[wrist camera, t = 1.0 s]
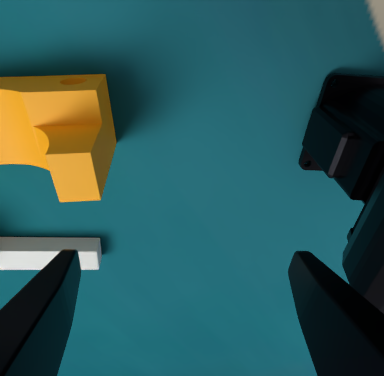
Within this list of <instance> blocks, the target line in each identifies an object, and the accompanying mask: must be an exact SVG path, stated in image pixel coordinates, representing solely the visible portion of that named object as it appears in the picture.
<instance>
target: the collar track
mask: <svg viewBox="0 0 384 376" xmlns="http://www.w3.org/2000/svg"><path fill="white" fill-rule="evenodd" d="M63 249H76V250H77V251H78V254H79V260H80V266H81V270H99V266H100V262H101V257H102V252H101V243H100V238H64V237H0V270H42V269H43V268H44V267H45V266H46V265H47V264H48V263H49V262H50V261H51V260H52V259H53V258H54V257H55V256H56V255H57V254H58V253H59V252H60V251H61V250H63Z"/></svg>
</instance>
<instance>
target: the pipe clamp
mask: <svg viewBox="0 0 384 376" xmlns="http://www.w3.org/2000/svg"><path fill="white" fill-rule="evenodd" d="M116 143H117V142H116V136H115V130H114V124H113V117H112V111H111V105H110V99H109V93H108V86H107V80H106V74H90V75H55V76H21V77H0V165H1V164H27V165H34V166H38V167H42V168H45V169H47V170H49V171H50V172H51V175H52V179H53V182H54V185H55V188H56V191H57V195H58V198H59V201H60V202H73V201H92V200H101V197H102V194H103V190H104V186H105V183H106V179H107V176H108V172H109V168H110V165H111V161H112V158H113V154H114V150H115V147H116Z"/></svg>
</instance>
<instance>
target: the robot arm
mask: <svg viewBox="0 0 384 376" xmlns="http://www.w3.org/2000/svg"><path fill="white" fill-rule="evenodd" d="M334 79H336V83H335V84H334V85H333V86H331V82H332V81H333V80H334ZM302 145H303V149H302V152H301V155H300V159H299V165H300V167H301V168H302V169H304V170H320V171H324V172H325V174H326V175H327V176H328V177H329V178H334V179H335V181H336V182H337V183H338V184H339V185H340V187H341V188H342V189H343V190H344V191H345V193H346V194H347V195H348V196H349V197H350V199H352V200H361V201H362V202H363V203H364V204H365V205H364V207H363V209H362V211H361V213H360V215H359V217H358V219H357V221H356V223H355V225H354V227H353V228H351V229H350V231H349V233H348V235H347V239H348V244H347V246H346V248H345V250H344V252H343V262H342V265H343V268H344V271H345V273H346V276H347V279H348V281H349V284H348V283H347V282H345V281H344V280H343V279H342V278H341V277H339V276H338V275H337V274H336V273H335V272H333V271H332V270H331V269H330V268H329V267H327V266H326V265H325V264H324V263H323V262H321V261H320V260H319V259H318V258H317V257H315V256H314V255H313V254H312V253H311V252H309V251H296V252H295V253H294V255H293V258H292V261H291V263H290V266H289V269H288V275H289V280H290V284H291V289H292V293H293V298H294V302H295V307H296V311H297V315H298V319H299V323H300V326H301V329H302V332H303V335H304V338H305V341H306V344H307V346H308V349H309V352H310V355H311V358H312V361H313V364H314V367H315V370H316V373H317V376H384V77H382V76H368V75H355V74H341V73H332V74H330V75H328V76H327V77H326V79H325V81H324V83H323V86H322V90H321V93H320V96H319V99H318V102H317V105H316V107H315V108H314V109H313V110H312V114H311V117H310V120H309V123H308V126H307V129H306V133H305V136H304V139H303V142H302ZM306 161H309V162H308V163H307V164H304V163H305V162H306ZM80 276H81V266H80V260H79V254H78V251H77V250H76V249H63V250H61V251H60V252H59V253H58V254H57V255H56V256H55V257H54V258H53V259H52V260H51V261H50V262H49V263H48V264H47V265H46V266H45V267H44V268H43V269H42V270H41V271H40V272H39V273H38V274H37V275H36V276H35V277H33V278H32V279H31V280H30V281H29V282H28V283H27V284H26V285H25V286H24V287H23V288H22V289H21V290H20V291H19V292H18V293H17V294H16V295H15V296H14V297H13V298H12V299H11V300H10V301H9V302H8V303H7V304H6V305H5V306H4V307H3V308H2V309H1V310H0V376H57V374H58V370H59V367H60V364H61V360H62V357H63V354H64V350H65V347H66V344H67V340H68V337H69V333H70V330H71V326H72V321H73V316H74V311H75V305H76V299H77V294H78V288H79V282H80Z"/></svg>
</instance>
